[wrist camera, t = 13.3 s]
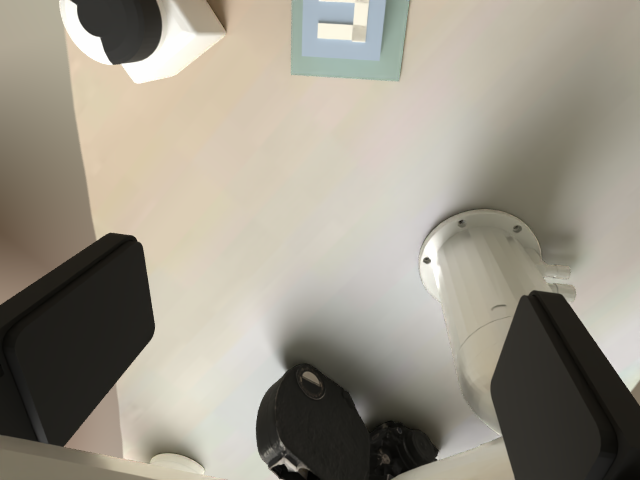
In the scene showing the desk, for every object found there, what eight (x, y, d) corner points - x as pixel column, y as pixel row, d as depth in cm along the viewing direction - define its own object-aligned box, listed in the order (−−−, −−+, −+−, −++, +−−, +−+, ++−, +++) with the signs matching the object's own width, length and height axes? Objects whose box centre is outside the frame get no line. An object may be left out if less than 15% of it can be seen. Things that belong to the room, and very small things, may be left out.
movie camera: (493, 447, 57) (524, 601, 41) (400, 485, 65) (397, 625, 50) (336, 312, 51) (305, 434, 36) (255, 373, 59) (202, 492, 44)
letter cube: (388, -24, 33) (389, -35, 27) (379, 56, 35) (379, 61, 30) (316, -27, 33) (303, -39, 28) (313, 52, 36) (301, 56, 31)
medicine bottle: (178, -45, 34) (90, -78, 24) (228, 33, 37) (168, 35, 26) (124, 6, 37) (22, -3, 26) (174, 77, 39) (98, 94, 29)
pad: (415, -53, 32) (416, -54, 31) (398, 80, 37) (398, 81, 36) (293, -56, 33) (292, -58, 32) (292, 74, 38) (291, 74, 37)
